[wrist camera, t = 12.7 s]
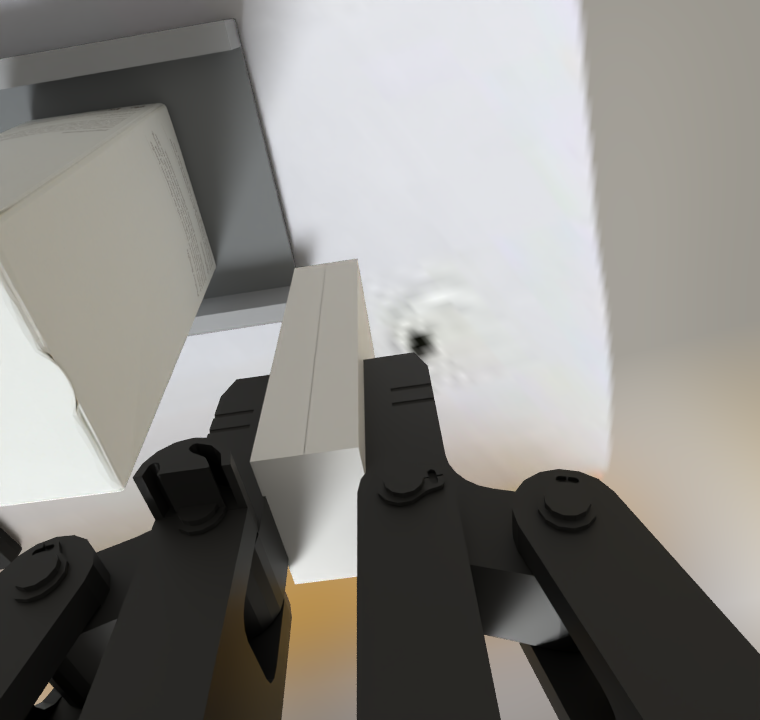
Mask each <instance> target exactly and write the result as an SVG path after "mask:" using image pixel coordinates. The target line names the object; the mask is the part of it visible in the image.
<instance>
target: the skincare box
mask: <svg viewBox="0 0 760 720" xmlns="http://www.w3.org/2000/svg"><path fill="white" fill-rule="evenodd" d="M215 269H216V264H215V260H214V257H213V254H212V250H211V247H210V244H209V240H208V237H207V234H206V231H205V227H204V224H203V221H202V218H201V214H200V211H199V208H198V205H197V201H196V198H195V195H194V192H193V188H192V185H191V182H190V179H189V175H188V172H187V169H186V166H185V162H184V159H183V156H182V153H181V150H180V146H179V143H178V140H177V137H176V134H175V131H174V128H173V125H172V122H171V119H170V116H169V113H168V110H167V107H166V106H165V105H164V104H162V103H154V104H144V105H136V106H128V107H120V108H112V109H105V110H98V111H91V112H84V113H77V114H70V115H63V116H57V117H50V118H43V119H37V120H31V121H27V122H25V123H22V124H20V125H18V126H16V127H14V128H11V129H9V130H7V131H5V132H2V133H0V506H8V505H16V504H24V503H32V502H40V501H48V500H55V499H63V498H71V497H79V496H87V495H95V494H103V493H112V492H120V491H123V490H124V489H125V487H126V484H127V482H128V480H129V477H130V475H131V472H132V470H133V467H134V465H135V462H136V460H137V457H138V455H139V453H140V450H141V448H142V445H143V443H144V441H145V438H146V436H147V433H148V431H149V428H150V426H151V423H152V421H153V419H154V416H155V414H156V411H157V409H158V406H159V404H160V401H161V399H162V397H163V394H164V392H165V389H166V387H167V384H168V382H169V380H170V377H171V375H172V372H173V370H174V367H175V365H176V362H177V360H178V358H179V355H180V353H181V350H182V348H183V346H184V343H185V341H186V338H187V336H188V334H189V331H190V329H191V326H192V324H193V321H194V319H195V316H196V314H197V312H198V309H199V307H200V304H201V302H202V300H203V297H204V295H205V292H206V290H207V287H208V285H209V283H210V280H211V278H212V276H213V273H214V271H215Z"/></svg>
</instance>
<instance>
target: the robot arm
mask: <svg viewBox="0 0 760 720" xmlns="http://www.w3.org/2000/svg"><path fill="white" fill-rule="evenodd" d="M133 479H134V481H135V483H136V485H137V487H138V489H139V490H140V492H141V494H142V496H143V498H144V500H145V502H146V503H147V505H148V507H149V509H150V511H151V513H152V515H153V516H154V518H155V522H154V525H153V527H152V530H151V531H148V532H146V533H144V534H142V535H140V536H138V537H135V538H133V539H130V540H128V541H125V542H123V543H120V544H117V545H115V546H112V547H110V548H107V549H104V550H102V551H99V552H97V553H96V552H95V550H94V549H93V547H92V546H91V545H90V543H89V542H88V540H87V539H84V538H81V537H78V536H75V535H72V536H62V537H55V538H53V539H50V540H47V541H45V542H42V543H39V544H37V545H35V546H34V547H32V548H30V549H29V550H27V551H26V552H24V553H23V554H21V555H19V556H18V557H17V558H16V559H14V560H13V561H12V562H11V563H10V564H9V565H8V566H7V567H6V568H5V569H4V570H3V571H2V572H1V573H0V720H281V717H282V708H283V698H284V687H285V678H286V669H287V658H288V648H289V639H290V629H291V619H292V616H291V607H290V602H289V600H288V597H287V595H286V592H285V586H286V577H287V569H288V566H289V569H290V571H291V574H292V577H293V580H294V582H295V584H300V583H309V582H317V581H325V580H333V579H341V578H349V577H357V720H501V718H500V713H499V708H498V703H497V699H496V693H495V688H494V683H493V678H492V673H491V669H490V664H489V658H488V653H487V648H486V643H485V638H484V635H488V636H493V637H497V638H502V639H506V640H511V641H516V642H519V643H520V645H521V647H522V649H523V651H524V653H525V655H526V657H527V659H528V661H529V663H530V665H531V667H532V668H533V670H534V672H535V674H536V676H537V678H538V680H539V682H540V684H541V686H542V688H543V689H544V692H545V694H546V695H547V697H548V699H549V701H550V703H551V705H552V707H553V709H554V711H555V713H556V714H557V716H558V719H559V720H760V654H759V653H758V652H757V651H756V649H755V648H754V647H753V646H752V645H751V644H750V643H749V642H748V641H747V639H746V638H745V637H744V636H743V635H742V634H741V633H740V632H739V631H738V629H737V628H736V627H735V626H734V625H733V624H732V623H731V622H730V620H729V619H728V618H727V617H726V616H725V615H724V614H723V613H722V611H721V610H720V609H719V608H718V607H717V606H716V605H715V604H714V603H713V602H712V600H711V599H710V598H709V597H708V596H707V595H706V594H705V592H704V591H703V590H702V589H701V588H700V587H699V586H698V585H697V584H696V582H695V581H694V580H693V579H692V578H691V577H690V576H689V575H688V574H687V573H686V571H685V570H684V569H683V568H682V567H681V566H680V565H679V564H678V562H677V561H676V560H675V559H674V558H673V557H672V556H671V555H670V553H669V552H668V551H667V550H666V549H665V548H664V547H663V546H662V545H661V543H660V542H659V541H658V540H657V539H656V538H655V537H654V536H653V534H652V533H651V532H650V531H649V530H648V529H647V528H646V527H645V526H644V524H643V523H642V522H641V521H640V520H639V519H638V518H637V517H636V515H635V514H634V513H633V512H632V511H631V510H630V509H629V508H628V507H627V505H626V504H625V503H624V502H623V501H622V500H621V499H620V498H619V497H618V495H617V494H616V493H615V492H614V491H613V490H611V489H610V488H609V487H608V486H606V485H605V484H604V483H603V482H601V481H600V480H599V479H597V478H594V477H592V476H589V475H587V474H584V473H582V472H579V471H570V470H562V469H557V470H550V471H544V472H539V473H537V474H535V475H533V476H532V477H530V478H528V479H526V480H524V481H523V482H522V484H521V485H520V486H519V488H518V489H517V490H516V491H515V492H514V491H507V490H499V489H492V488H487V487H483V486H478V485H476V484H474V483H472V482H469V481H467V480H465V479H464V478H462V477H461V476H460V475H458V474H457V473H456V472H455V471H454V470H453V469H452V467H451V466H450V465H449V463H448V461H447V458H446V455H445V451H444V446H443V441H442V436H441V431H440V426H439V420H438V415H437V410H436V405H435V401H434V395H433V390H432V386H431V380H430V375H429V370H428V366H427V365H426V364H425V363H424V362H423V361H422V360H421V359H420V358H419V357H418V356H417V355H416V354H415V353H407V354H400V355H393V356H386V357H379V358H375V355H374V349H373V343H372V338H371V332H370V327H369V321H368V315H367V310H366V304H365V299H364V293H363V287H362V282H361V276H360V271H359V265H358V259H352V260H345V261H338V262H332V263H325V264H318V265H312V266H305V267H299V268H295V269H294V273H293V277H292V282H291V286H290V290H289V295H288V299H287V303H286V308H285V312H284V316H283V321H282V325H281V329H280V334H279V338H278V342H277V347H276V351H275V355H274V360H273V364H272V368H271V372H270V375H265V376H258V377H251V378H244V379H237V380H236V381H235V382H234V383H233V384H232V385H231V386H230V387H229V388H228V390H227V391H226V392H225V393H224V394H223V395H222V396H221V398H220V401H219V404H218V407H217V410H216V412H215V418H214V419H213V421H212V424H211V427H210V434H208V436H207V438H191V439H187V440H183V441H180V442H176V443H174V444H172V445H170V446H168V447H166V448H164V449H162V450H160V451H158V452H156V453H155V454H154V455H153V456H151V457H150V458H149V459H148V460H147V461H145V462H144V463H143V464H142V465H141V467H140V468H139V469H138V471H137V472H136V474H135V475H134V476H133ZM48 682H49V683H50V684H51V685H52V686H53V687H54V688H53V690H52V691H51V692H50V693H49V695H48V696H47V697H46V698H45V699H44V700H43V701H42V702H41V703H39V704H37V705H35V706H34V704H35V702H36V701H37V699H38V698H39V696H40V695H41V693H42V692H43V690H44V689H45V687H46V686H47V684H48Z"/></svg>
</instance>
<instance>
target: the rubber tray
mask: <svg viewBox="0 0 760 720" xmlns="http://www.w3.org/2000/svg"><path fill="white" fill-rule="evenodd" d="M154 103H162V104H164V105H165V106H166V107H167V110H168V113H169V116H170V119H171V122H172V125H173V128H174V131H175V134H176V137H177V140H178V143H179V146H180V150H181V153H182V156H183V159H184V162H185V166H186V169H187V172H188V175H189V179H190V182H191V185H192V188H193V192H194V195H195V198H196V201H197V205H198V208H199V211H200V214H201V218H202V221H203V224H204V227H205V231H206V234H207V237H208V240H209V244H210V247H211V250H212V254H213V257H214V260H215V264H216V269H215V271H214V273H213V276H212V278H211V280H210V283H209V285H208V287H207V290H206V292H205V295H204V297H203V300H202V302H201V304H200V307H199V309H198V312H197V314H196V316H195V319H194V321H193V324H192V326H191V329H190V331H189V334H188V336H193V335H200V334H206V333H213V332H219V331H226V330H232V329H239V328H245V327H252V326H259V325H265V324H272V323H278V322H282V321H283V316H284V312H285V308H286V303H287V299H288V295H289V290H290V286H291V282H292V277H293V273H294V269H295V268H296V266H295V262H294V258H293V254H292V249H291V245H290V241H289V237H288V233H287V229H286V225H285V221H284V217H283V213H282V209H281V205H280V201H279V197H278V192H277V188H276V184H275V180H274V176H273V172H272V168H271V164H270V160H269V156H268V152H267V148H266V144H265V140H264V135H263V131H262V127H261V123H260V119H259V115H258V111H257V107H256V103H255V99H254V95H253V91H252V87H251V83H250V78H249V74H248V70H247V66H246V62H245V58H244V54H243V50H242V46H241V42H240V38H239V34H238V30H237V26H236V21H235V19H228V20H221V21H215V22H209V23H204V24H198V25H192V26H186V27H181V28H175V29H169V30H163V31H158V32H152V33H146V34H140V35H135V36H129V37H123V38H117V39H112V40H106V41H100V42H94V43H89V44H83V45H77V46H71V47H66V48H60V49H54V50H48V51H43V52H37V53H31V54H25V55H20V56H14V57H8V58H2V59H0V133H2V132H5V131H7V130H9V129H11V128H14V127H16V126H18V125H20V124H22V123H25V122H27V121H31V120H37V119H43V118H50V117H57V116H63V115H70V114H77V113H84V112H91V111H98V110H105V109H112V108H120V107H128V106H136V105H144V104H154Z"/></svg>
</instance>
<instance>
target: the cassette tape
mask: <svg viewBox="0 0 760 720" xmlns="http://www.w3.org/2000/svg"><path fill="white" fill-rule="evenodd" d="M0 537H1V538H0V569H4V568H6V567H7V566H8V565H9V564H10V563H11V562H12V561H13V560H14V559H16V558H17V557H18V555H19V553H20V552H21V550H22V548H21V547H20V546H19V545H18V544H17V543H16V542H15V541H14V540H13V539H12V538H11V537H10V536H9V535H8V534H7V533H6V532H5V531H4V530H3V529H1V528H0Z"/></svg>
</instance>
